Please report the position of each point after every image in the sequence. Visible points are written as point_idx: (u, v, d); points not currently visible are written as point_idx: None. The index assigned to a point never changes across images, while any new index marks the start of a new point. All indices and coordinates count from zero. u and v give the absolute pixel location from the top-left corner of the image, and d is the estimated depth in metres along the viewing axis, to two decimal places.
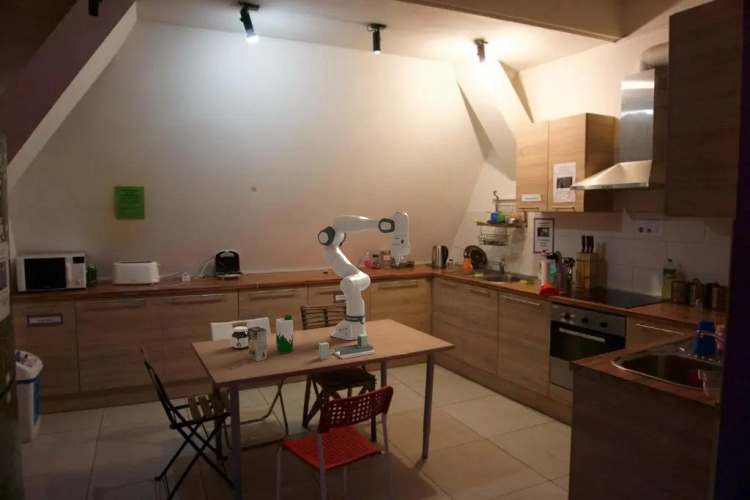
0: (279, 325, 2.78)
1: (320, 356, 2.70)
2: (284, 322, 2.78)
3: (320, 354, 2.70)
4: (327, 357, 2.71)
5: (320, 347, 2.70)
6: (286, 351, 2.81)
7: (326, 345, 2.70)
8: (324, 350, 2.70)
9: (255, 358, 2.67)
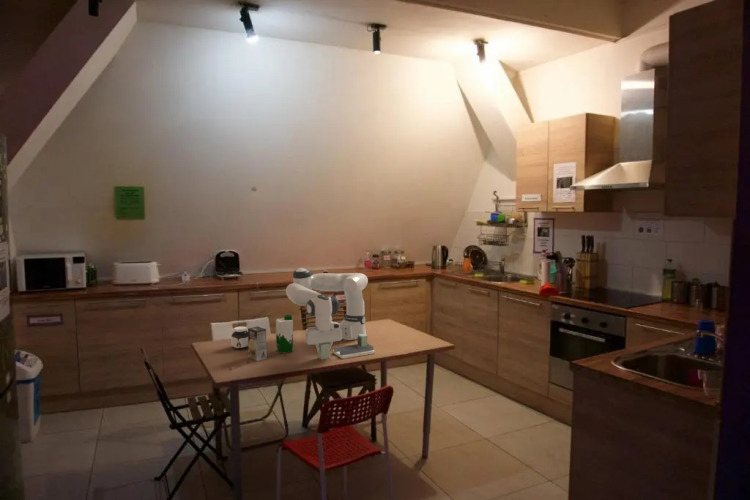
0: (279, 325, 2.78)
1: (320, 356, 2.70)
2: (284, 322, 2.78)
3: (320, 354, 2.70)
4: (327, 357, 2.71)
5: (320, 347, 2.70)
6: (286, 351, 2.81)
7: (326, 345, 2.70)
8: (324, 350, 2.70)
9: (255, 358, 2.67)
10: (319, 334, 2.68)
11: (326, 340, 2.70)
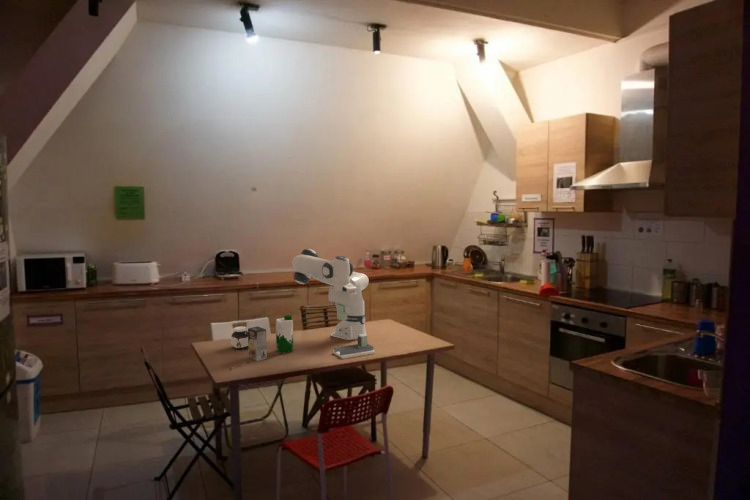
0: (279, 325, 2.78)
1: None
2: (284, 322, 2.78)
3: None
4: (341, 319, 2.73)
5: None
6: (286, 351, 2.81)
7: (340, 306, 2.73)
8: (339, 311, 2.74)
9: (255, 358, 2.67)
10: (336, 293, 2.75)
11: (340, 301, 2.72)
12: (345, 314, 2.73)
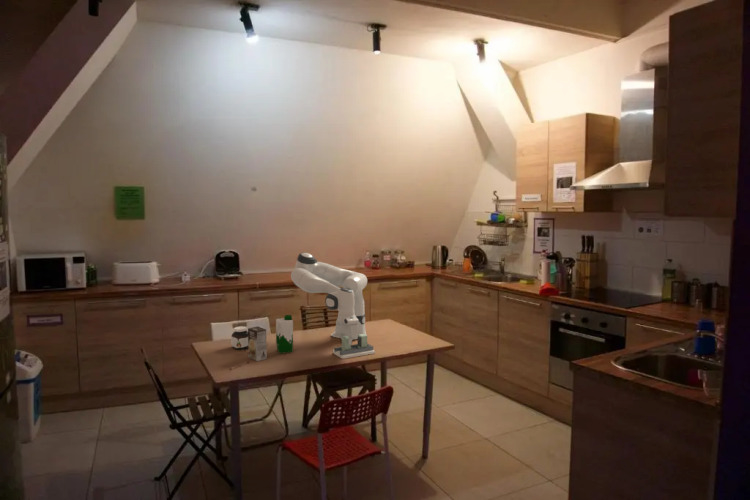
0: (279, 325, 2.78)
1: None
2: (284, 322, 2.78)
3: None
4: None
5: None
6: (286, 351, 2.81)
7: (344, 339, 2.76)
8: (343, 343, 2.78)
9: (255, 358, 2.67)
10: (341, 324, 2.79)
11: (344, 332, 2.76)
12: (348, 347, 2.76)
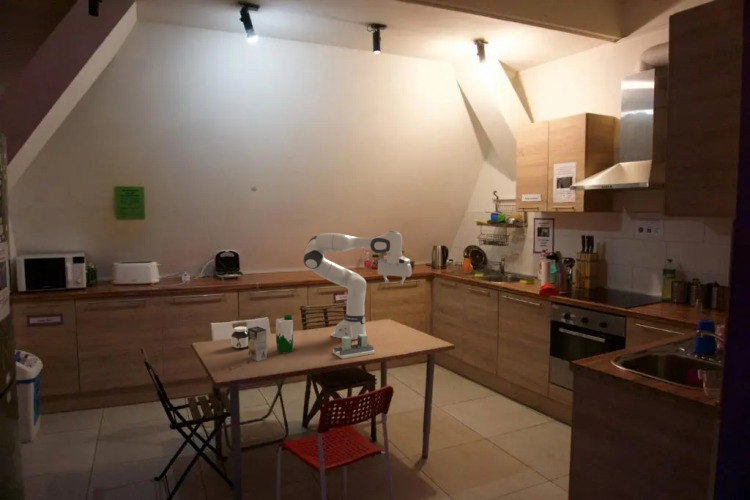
0: (279, 325, 2.78)
1: None
2: (284, 322, 2.78)
3: None
4: None
5: None
6: (286, 351, 2.81)
7: (344, 339, 2.76)
8: (343, 343, 2.78)
9: (255, 358, 2.67)
10: (388, 266, 2.89)
11: (394, 273, 2.88)
12: (348, 347, 2.76)
